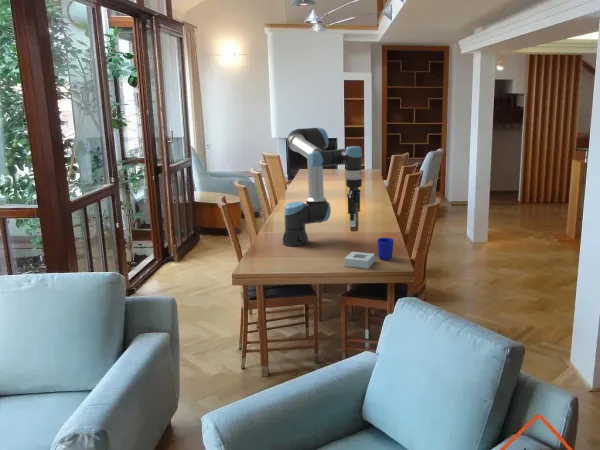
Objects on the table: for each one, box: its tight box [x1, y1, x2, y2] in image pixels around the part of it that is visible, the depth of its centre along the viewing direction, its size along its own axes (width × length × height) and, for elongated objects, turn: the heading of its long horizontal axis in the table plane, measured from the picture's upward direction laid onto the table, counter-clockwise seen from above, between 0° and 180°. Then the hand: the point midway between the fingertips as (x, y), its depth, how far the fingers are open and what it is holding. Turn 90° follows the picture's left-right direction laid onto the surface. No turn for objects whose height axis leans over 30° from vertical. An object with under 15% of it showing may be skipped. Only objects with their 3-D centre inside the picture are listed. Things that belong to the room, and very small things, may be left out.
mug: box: [377, 237, 395, 261], centre depth 266 cm, size 8×12×10 cm
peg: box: [349, 202, 359, 233], centre depth 254 cm, size 4×4×14 cm
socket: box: [344, 251, 376, 270], centre depth 257 cm, size 12×12×4 cm
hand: (354, 225), depth 255 cm, fingers closed on peg, 4 cm apart
